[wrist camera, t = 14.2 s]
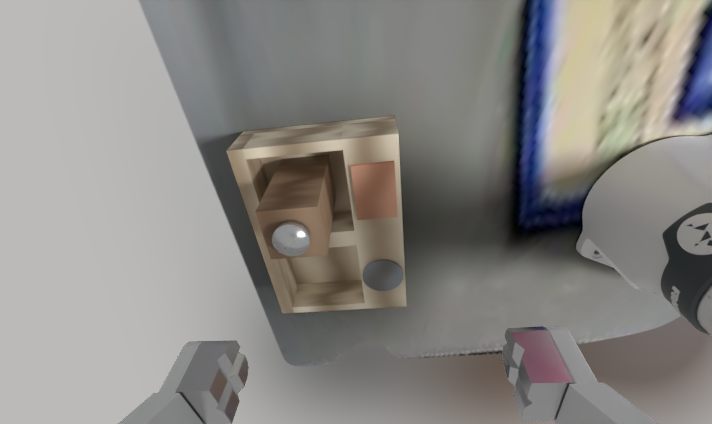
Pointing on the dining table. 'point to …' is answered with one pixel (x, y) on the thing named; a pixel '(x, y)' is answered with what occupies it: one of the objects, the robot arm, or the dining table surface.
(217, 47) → the dining table surface
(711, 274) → the robot arm
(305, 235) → the plug
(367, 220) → the tag socket block
